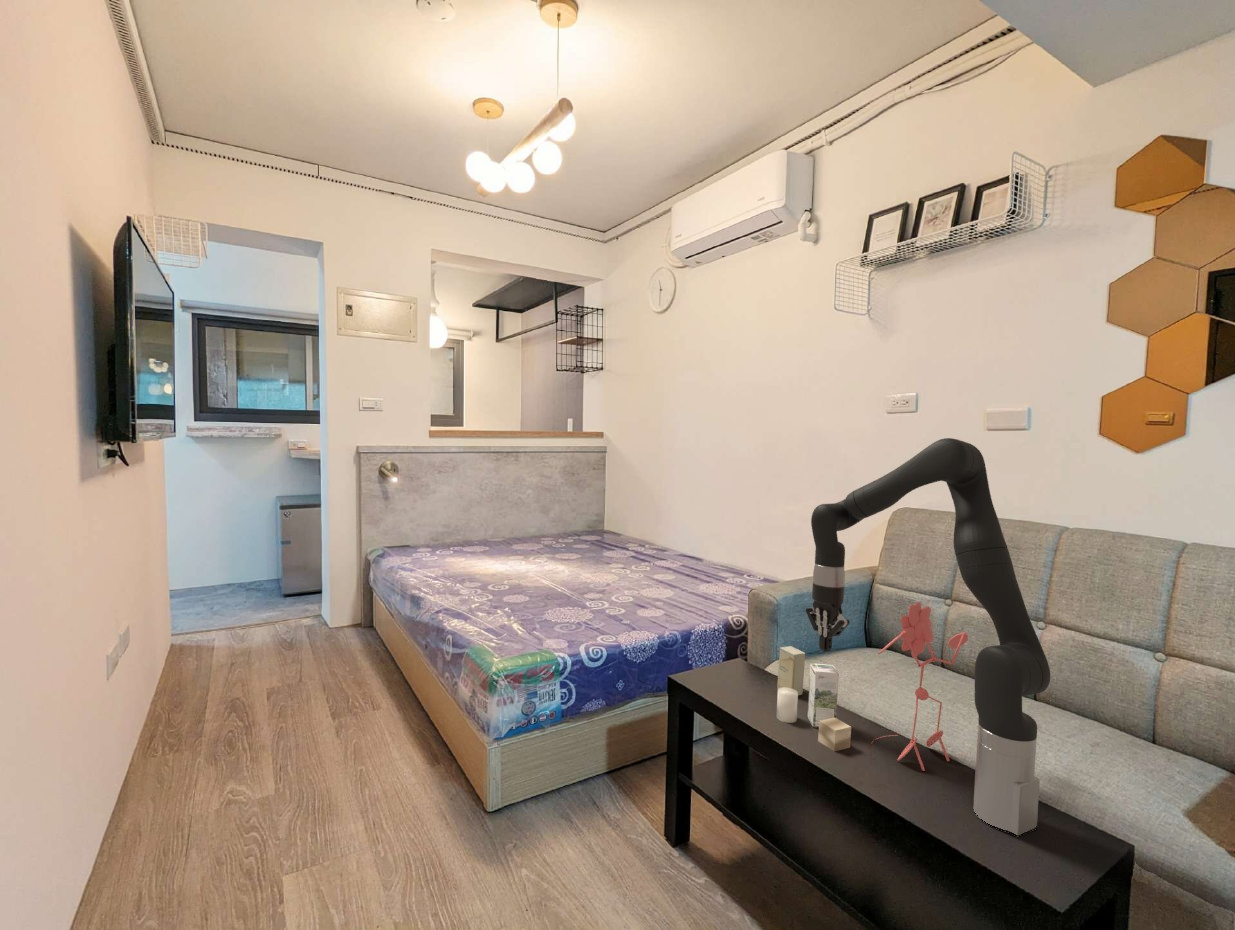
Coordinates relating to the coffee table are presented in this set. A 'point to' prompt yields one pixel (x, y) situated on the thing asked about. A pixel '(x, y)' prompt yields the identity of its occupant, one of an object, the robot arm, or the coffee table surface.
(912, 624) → the pink stick figure
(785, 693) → the ceramic cylinder
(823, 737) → the birch block
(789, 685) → the skincare box
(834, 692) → the syrup box
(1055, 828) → the coffee table surface
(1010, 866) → the coffee table surface
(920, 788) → the coffee table surface
